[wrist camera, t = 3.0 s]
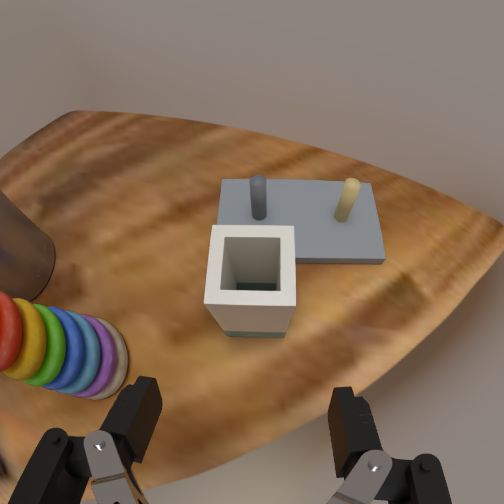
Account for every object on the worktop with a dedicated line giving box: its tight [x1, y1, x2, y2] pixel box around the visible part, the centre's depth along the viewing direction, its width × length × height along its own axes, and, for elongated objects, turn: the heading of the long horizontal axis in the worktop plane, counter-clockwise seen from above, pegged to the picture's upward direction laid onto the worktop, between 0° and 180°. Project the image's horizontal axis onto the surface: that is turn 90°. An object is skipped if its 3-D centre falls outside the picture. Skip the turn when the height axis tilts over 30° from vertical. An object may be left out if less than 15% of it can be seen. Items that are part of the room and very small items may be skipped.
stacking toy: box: [0, 292, 128, 400], centre depth 15 cm, size 8×8×19 cm
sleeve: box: [204, 225, 296, 338], centre depth 20 cm, size 5×5×10 cm
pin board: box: [217, 175, 386, 264], centre depth 26 cm, size 16×9×6 cm, turn 88°
